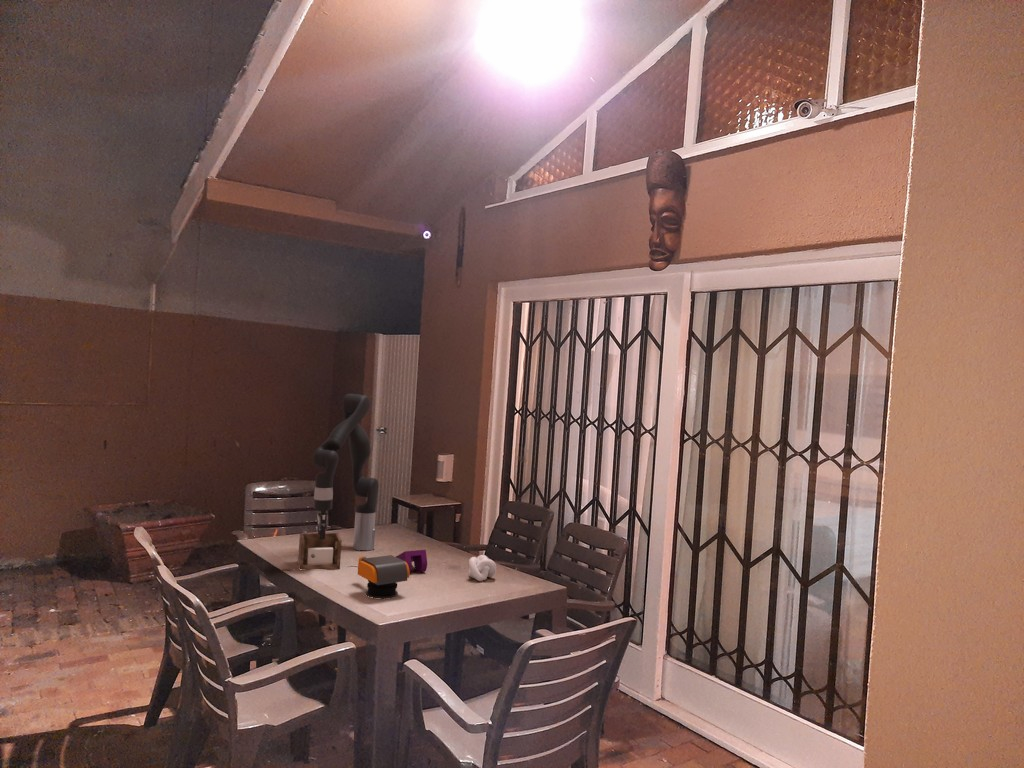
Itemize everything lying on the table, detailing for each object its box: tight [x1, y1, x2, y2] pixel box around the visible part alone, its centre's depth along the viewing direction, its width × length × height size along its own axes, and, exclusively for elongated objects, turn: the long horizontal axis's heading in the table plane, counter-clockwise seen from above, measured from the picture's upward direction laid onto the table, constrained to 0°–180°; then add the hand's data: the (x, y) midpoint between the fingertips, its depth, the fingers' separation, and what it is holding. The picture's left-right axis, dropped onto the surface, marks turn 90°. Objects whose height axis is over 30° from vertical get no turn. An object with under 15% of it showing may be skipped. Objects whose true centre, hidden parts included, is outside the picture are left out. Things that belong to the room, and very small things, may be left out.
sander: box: [357, 554, 411, 600], centre depth 261 cm, size 15×25×13 cm, turn 39°
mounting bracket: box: [395, 549, 428, 573], centre depth 293 cm, size 10×8×18 cm
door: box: [307, 547, 333, 564], centre depth 286 cm, size 10×4×8 cm, turn 110°
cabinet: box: [297, 532, 343, 570], centre depth 290 cm, size 16×14×12 cm
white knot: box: [468, 554, 497, 582], centre depth 285 cm, size 11×12×9 cm
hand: (321, 536), depth 287 cm, fingers open, 8 cm apart
